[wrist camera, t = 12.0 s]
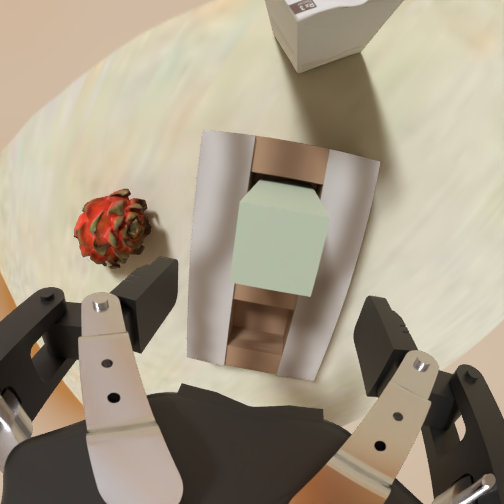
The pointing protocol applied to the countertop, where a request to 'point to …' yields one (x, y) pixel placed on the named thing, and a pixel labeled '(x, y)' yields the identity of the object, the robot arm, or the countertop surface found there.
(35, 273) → the countertop surface
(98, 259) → the dragon fruit
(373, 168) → the block
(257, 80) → the countertop surface
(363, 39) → the skincare box
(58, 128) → the countertop surface
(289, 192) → the square peg
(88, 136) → the countertop surface
